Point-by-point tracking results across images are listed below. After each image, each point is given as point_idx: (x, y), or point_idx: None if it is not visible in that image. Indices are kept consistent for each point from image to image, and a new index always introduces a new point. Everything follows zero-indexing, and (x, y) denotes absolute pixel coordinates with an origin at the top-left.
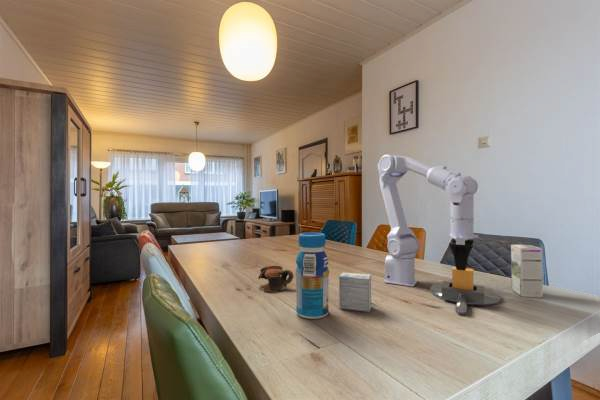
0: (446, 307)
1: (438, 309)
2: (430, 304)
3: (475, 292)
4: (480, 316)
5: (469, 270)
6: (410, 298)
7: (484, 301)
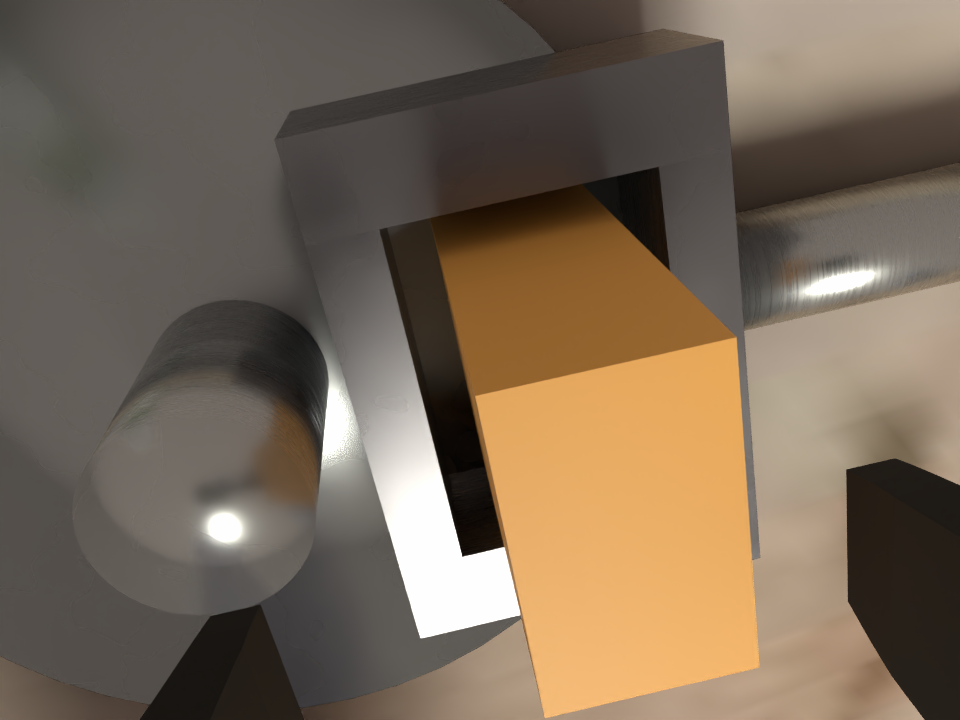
0: (850, 363)
1: (951, 400)
2: (845, 500)
3: (730, 162)
4: (950, 6)
5: (699, 414)
6: (775, 678)
7: (509, 55)
